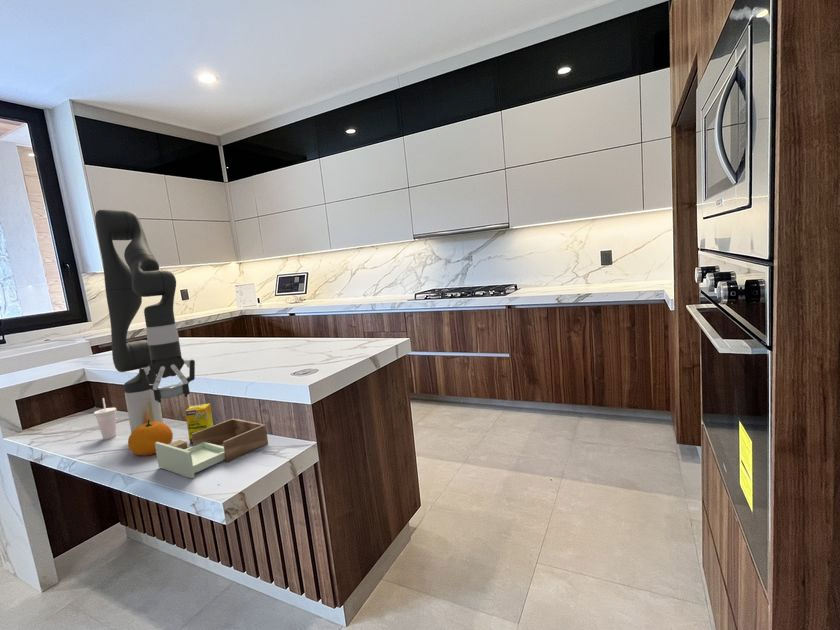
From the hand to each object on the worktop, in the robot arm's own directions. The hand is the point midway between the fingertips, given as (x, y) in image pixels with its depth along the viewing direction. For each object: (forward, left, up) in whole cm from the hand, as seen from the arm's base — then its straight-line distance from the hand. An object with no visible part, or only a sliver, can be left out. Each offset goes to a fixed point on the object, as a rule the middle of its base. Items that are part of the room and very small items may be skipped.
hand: (172, 399), depth 121 cm
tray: (+7, +1, -18) cm, 20 cm away
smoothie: (-47, 0, -18) cm, 50 cm away
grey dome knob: (0, 0, +1) cm, 1 cm away
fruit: (-17, 0, -18) cm, 25 cm away
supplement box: (-10, +12, -18) cm, 24 cm away
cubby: (+7, +10, -18) cm, 22 cm away
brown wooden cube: (-4, +1, -18) cm, 19 cm away
